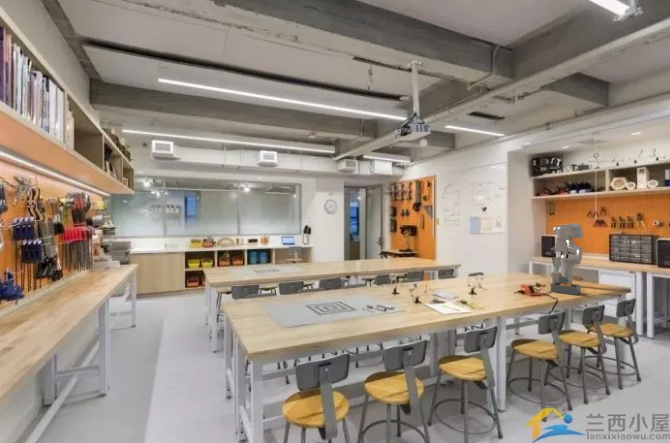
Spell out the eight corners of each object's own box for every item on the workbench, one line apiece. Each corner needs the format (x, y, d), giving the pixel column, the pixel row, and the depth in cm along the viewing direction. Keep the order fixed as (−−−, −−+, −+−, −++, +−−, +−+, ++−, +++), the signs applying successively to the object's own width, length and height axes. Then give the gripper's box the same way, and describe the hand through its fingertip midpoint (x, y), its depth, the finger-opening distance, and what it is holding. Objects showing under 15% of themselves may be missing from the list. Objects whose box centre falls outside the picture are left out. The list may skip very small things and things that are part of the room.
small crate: (562, 289, 325) (562, 283, 325) (571, 291, 321) (571, 284, 320) (559, 291, 318) (560, 284, 318) (568, 292, 313) (569, 286, 313)
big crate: (555, 289, 333) (555, 282, 333) (580, 292, 319) (580, 285, 319) (550, 292, 320) (550, 284, 320) (576, 295, 306) (576, 287, 306)
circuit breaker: (568, 289, 333) (568, 273, 333) (551, 287, 340) (551, 272, 339) (567, 287, 340) (567, 272, 340) (550, 286, 346) (550, 271, 346)
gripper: (572, 240, 330) (572, 258, 330) (551, 239, 342) (551, 256, 343) (571, 240, 325) (570, 258, 325) (550, 239, 337) (549, 257, 337)
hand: (560, 257), depth 334 cm, fingers open, 9 cm apart
